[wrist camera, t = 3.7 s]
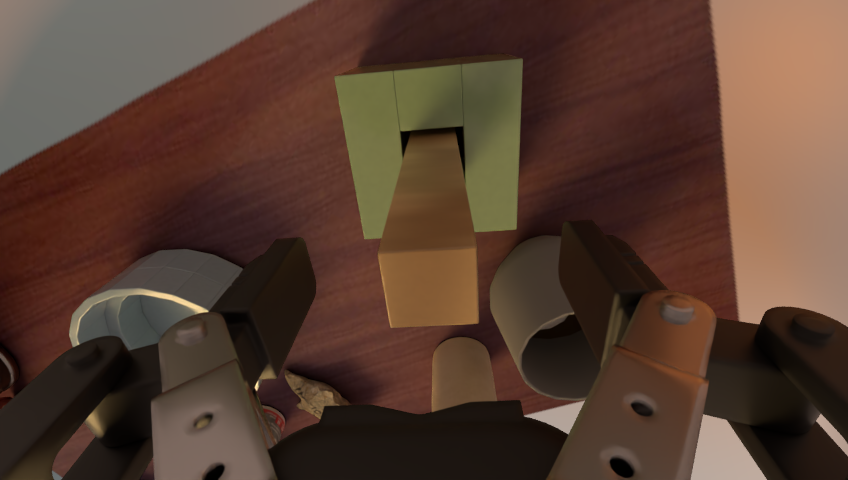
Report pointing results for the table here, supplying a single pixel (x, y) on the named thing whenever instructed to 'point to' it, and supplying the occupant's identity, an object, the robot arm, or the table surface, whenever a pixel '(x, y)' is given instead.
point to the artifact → (314, 394)
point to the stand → (429, 109)
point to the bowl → (153, 297)
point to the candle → (461, 373)
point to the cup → (542, 322)
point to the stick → (430, 238)
